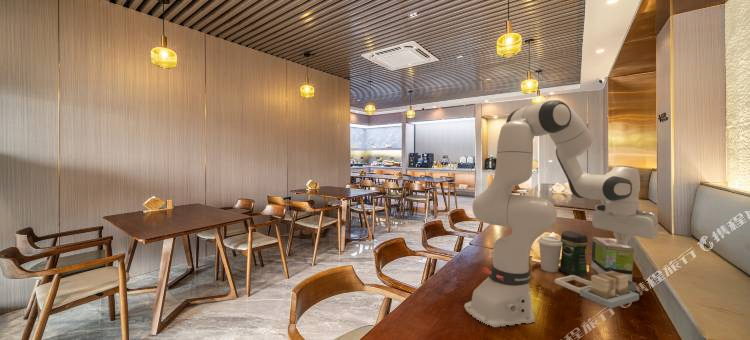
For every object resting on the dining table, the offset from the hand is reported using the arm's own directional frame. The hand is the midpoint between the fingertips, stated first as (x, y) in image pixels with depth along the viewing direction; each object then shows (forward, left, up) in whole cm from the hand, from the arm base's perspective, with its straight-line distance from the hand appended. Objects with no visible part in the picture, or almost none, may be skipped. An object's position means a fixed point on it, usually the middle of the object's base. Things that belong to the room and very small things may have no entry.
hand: (622, 244), depth 112 cm
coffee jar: (0, +18, -18) cm, 26 cm away
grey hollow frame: (-12, -3, -18) cm, 22 cm away
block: (-8, -3, -17) cm, 19 cm away
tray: (-13, +8, -18) cm, 24 cm away
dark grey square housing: (0, 0, -18) cm, 18 cm away
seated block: (-16, -3, -17) cm, 23 cm away
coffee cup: (-7, +24, -18) cm, 31 cm away
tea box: (+15, +12, -19) cm, 26 cm away
